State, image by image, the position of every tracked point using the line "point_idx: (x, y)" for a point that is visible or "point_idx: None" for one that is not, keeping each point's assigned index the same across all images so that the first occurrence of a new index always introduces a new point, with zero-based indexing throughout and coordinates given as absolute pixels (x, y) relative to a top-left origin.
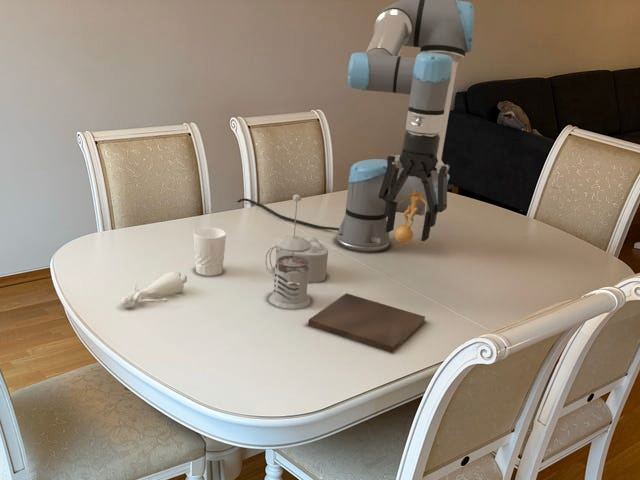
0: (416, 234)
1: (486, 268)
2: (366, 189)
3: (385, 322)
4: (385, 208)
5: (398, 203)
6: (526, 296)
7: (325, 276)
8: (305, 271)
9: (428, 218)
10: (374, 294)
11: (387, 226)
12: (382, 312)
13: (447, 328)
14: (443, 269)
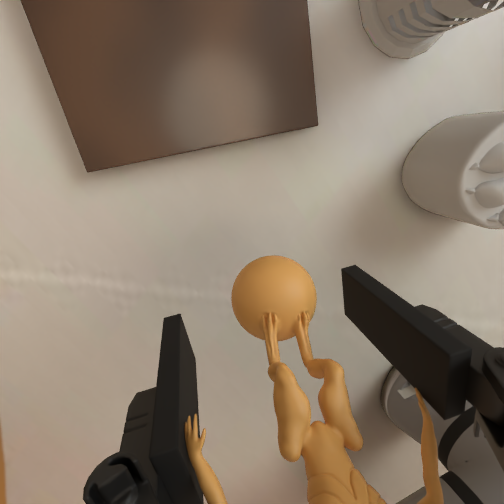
0: (372, 478)
1: None
2: None
3: (125, 34)
4: (462, 329)
5: (431, 420)
6: (60, 461)
7: (407, 185)
8: (451, 14)
9: (155, 421)
10: (278, 208)
11: (365, 277)
12: (178, 93)
13: (29, 190)
14: (254, 419)
